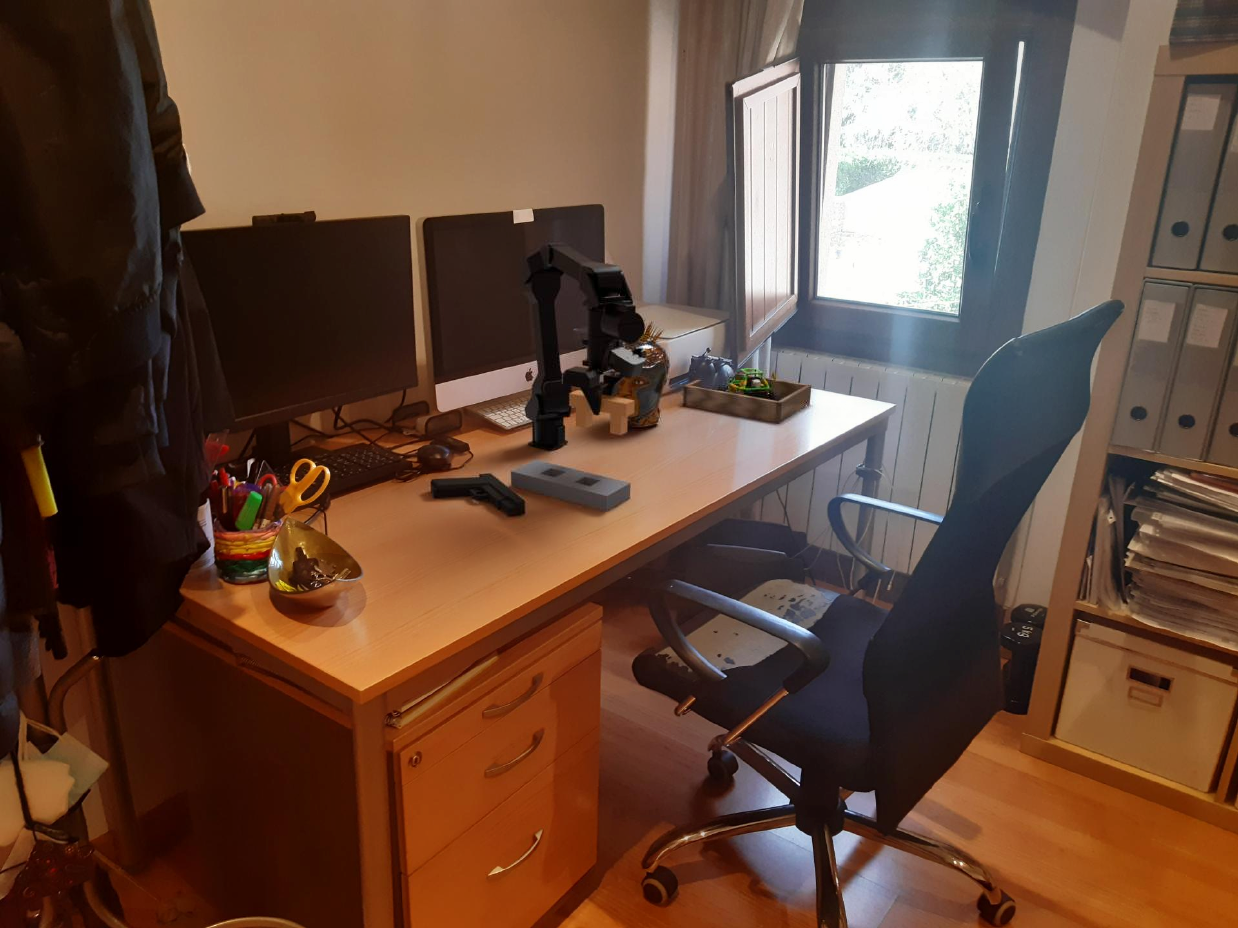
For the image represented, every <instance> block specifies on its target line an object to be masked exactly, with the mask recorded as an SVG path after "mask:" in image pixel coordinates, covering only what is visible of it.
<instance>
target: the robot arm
mask: <svg viewBox="0 0 1238 928" xmlns="http://www.w3.org/2000/svg"><path fill="white" fill-rule="evenodd" d="M566 275H567V276H568V277H570V278H571V279H573V280H575V281H577V283H578V289H579V291H580V292H582V294H583V295H584V296H585V297H586V299H585V300H583V302H582V306H583V307H585V308H587V309H586V319H587V320H586V337H585V338H582V340H581V341H582V343H581V344H582V345H585V346H586V359H583V360H582V364H581V365H582V366H583V367H582V366H578V365H577V366H573V367H570V368H567V369H565V370H564V371H563V372H562V368H561V359H560V358H561V355H560V347H559V334H558V323H557V321H558V320H557V312H556V300H557V298H558V296H559V295H560V292H561V290H562V279H563V278H564V276H566ZM518 279H519V281H520V285H521V289H522V293H523V295H524V296H525V298H527V300H528V301H529V303H530V305H531V313H532V322H533V333H534V335H533V336H534V346H535V355H536V365H537V366H536V367H537V374H536V376H535V379H534V380H533V383H532V385H531V396H530V398H529V400H528V401H527V403H526V405H525V406H524V413H525V417H526V418H527V419H528V420H530V421H531V425H532V427H531V430H532V431H531V433H532V434H531V435H532V438H531V439H532V440H531V441H528V442H527V445H528V446H531V447H534V448H539V449H544V450H547V451H553V450H556V449H558V448H559V447H562V446H564V445H566V444H568V443H569V441H568V440H566V425H565V423H564V422H565V421H564V419H565V418H570V417H571V412H572V410H573V409H572V407H573V406H569V393H572V392H573V391H572V387H574V388H575V387H576V388H580V391H582V392H583V394H584V396H585V398H586V400H587V402H588V404H589V406H590V408H591V410H592V412H593V416H597V417H598V416H600V414H601V412H600V408H601V399H602V395H608V396H614V393H615V390H616V388H617V385H618V384H619V383H620V382H621V381H622V380H623V379H625V378H627V379H632V378H633V377H635V376H639V375H640V373H641V371H642V368H643V367H644V366H646V365H647V362H646V360H647V356H646V350H645V349H644V348H642V347H638V348H636V349H634V350H633V351H632V350H631V349H629V350H627V349H625V348H623V344H624V343H628V344H632V343H635V342H637V341H638V340H639V339H640V338H641V337H642V336H643V333H644V334H645V332H644V329H645V330H646V328H645V326H646V323H645V321H644V319H643V317H642V316H641V314H640V313H639V312H636V311H637V309H636V308H637V307H636V305H635V304H634V301H633V297H632V296H633V293H632V291H631V290H630V288H629V285H628V283H627V280H626V277H625V274H624V273H623V271H622V269H621V267H620V266H619V265H617V264H612V263H605V262H596V261H594V260H592V259H590V258H588V257H587V256H585V255H584V254H581V253H580V252H578V251H577V250H574V249H573V248H572V247H570V245H569V244H567V243H565V242H554V243H546V244H543V246H542V247H541V248H540V249H539V250H538V251H537V252H535V253H533V254H531V255H530V256H528V257H526V259H525V260H524V262H523V263H522V264H521V266H520V267H519V269H518ZM631 351H632V352H631Z"/></svg>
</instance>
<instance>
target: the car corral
mask: <svg viewBox="0 0 1238 928" xmlns="http://www.w3.org/2000/svg"><path fill="white" fill-rule="evenodd" d="M734 373H735V375H736V374H737V373H738V372H734ZM744 376H746V373H741V372H740V373H739V374H738V375H737V376H736V377H744ZM748 377H755V375H748ZM756 377H758V376H757V375H756ZM759 377H760V382H761V384H763V383H762V379H761V376H759ZM763 378H764V379H765V380H766V381H767V383H768V385H769V384H771V390H777V391H778V392H779V393H780V396H781V400H780V401H774V400H768V399H762V398H757V397H751V396H746V395H740V394H734V393H729V392H728V391H726V392H723V391H717V390H712V389H706V388H701V380H698V379H696V380H694V381H692V382H689V383H687V384H684V386H683V396H682V397H683V398H682V400H683V401H682V405H683V406H687V407H692V408H698V409H702V410H703V409H704V410H709V411H714V412H718V413H724V414H729V415H734V416H740V417H746V418H751V419H756V420H760V421H766V422H771V423H776V424H780V423H781V422H783V421H785V420H786V419H788V418H790V417H791V416H793V415H794V413H795V414H796V413H798V412H799V411H801V410H802V408H803V407H804V408H806V407H807V406H806V405H808V406H809V405H810V404H811V396H812V395H811V393H812V385H811V384H806V383H800V382H794V381H787V380H782V379H776V382H775V381H774V379H773V378H771V377H764V376H763ZM739 380H743V378H735V381H739ZM770 381H771V383H770ZM763 385H764V384H763ZM767 393H769V389H767ZM739 404H740V406H739ZM805 406H806V407H805ZM804 408H803V409H804ZM800 409H801V410H800ZM797 411H798V412H797ZM792 414H793V415H792ZM789 416H790V417H789Z"/></svg>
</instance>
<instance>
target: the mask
mask: <svg viewBox="0 0 1238 928" xmlns="http://www.w3.org/2000/svg"><path fill="white" fill-rule="evenodd" d="M643 321H644V322H645V321H646V318H644V319H643ZM656 324H657V323H656ZM656 324H655V325H654V321H650V322H649V323H648V325H645V329H644V333H643V335H642V337H641V338H640V339H639V340H638V341H637V342H635V343H632V344H628V343H624V342H623V348H625V349H627V350H629V349H631V350H632V351H633V350H634V349H636V348H638V347H642V348H644V349H645V350H646V356H647V360H646V362H647V365H646V366H644V367H643V368H642V371H641V373H640V375H639V376H635V377H633V378H632V379H627V378H625V379H623V380H622V381H621V382H620V383H619V384H618V385H617V388H616V390H615V393H614V396H613V397H619V398H624V399H629V400H635V403H634V413H633V414H631V415H629V416H628V418H627V428H630V427H631V428H642V427H649V426H653V425H656V424H658V423H659V422H660V421H661V419H662V413H661V406H659V405H660V399H661V397H662V395H663V391H664V388H665V386H666V384H667V382H668V377H669V376H668V375H669V373H670V372H669V371H670V366H671V364H670V358H669V354H668V353H667V351H666V350H665V348H663V347H662V345H659V344H657V343H658V342H660V340H658V339H659V338H660V336H661V335H662V333H664V332H665V330H661V329H659V330H658V331H657V332H656V330H657V328H658V327H659V325H658V326H656ZM653 325H654V326H653ZM655 326H656V328H655ZM654 328H655V329H654ZM655 332H656V334H655ZM654 334H655V335H654ZM657 340H658V341H657ZM632 351H631V352H632Z"/></svg>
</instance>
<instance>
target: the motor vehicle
mask: <svg viewBox="0 0 1238 928" xmlns="http://www.w3.org/2000/svg"><path fill="white" fill-rule="evenodd" d="M747 371H752V372H747ZM753 371H754V372H753ZM741 372H742V373H743V374H746V376H744V377H736V376H737V375H738V374H739V373H740V374H741ZM736 373H737V374H736V375H735V376H734V377H730V378H733V379H732V380H731V379H729V381H730V383H728V382H727V384H729V388H728V386H727V388H726V387H725V385H719V388H718V391H723V392H729V393H734V394H740V395H746V396H751V397H757V398H762V399H768V400H774V401H780V400H781V396H780V393H779V392H778V391H777V390H771V384H769V385H768V383H767V381H766V380H765V379H764V378H765V377H764V372H763V371H762V370H759V369H757V368H754V367H753V368H749V367H746V368H741V369H739V371H738V372H736ZM748 375H752V376H755V377H748ZM757 375H760V376H758V377H756V376H757ZM760 377H761V379H762V383H763V384H764V385H763V384H761V382H760ZM763 377H764V378H763ZM734 378H743V380H739V381H734V382H733V383H731V382H732V381H733V380H734ZM770 379H774V381H775V382H776V380H777V377H776V372H775V371H772V374H771V377H770ZM770 383H771V381H770ZM767 389H769V394H768V393H767ZM726 390H727V391H726ZM739 406H740V404H739Z"/></svg>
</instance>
